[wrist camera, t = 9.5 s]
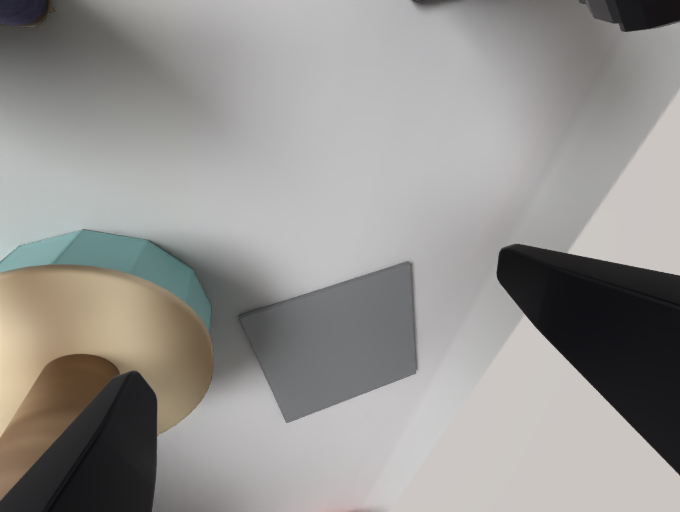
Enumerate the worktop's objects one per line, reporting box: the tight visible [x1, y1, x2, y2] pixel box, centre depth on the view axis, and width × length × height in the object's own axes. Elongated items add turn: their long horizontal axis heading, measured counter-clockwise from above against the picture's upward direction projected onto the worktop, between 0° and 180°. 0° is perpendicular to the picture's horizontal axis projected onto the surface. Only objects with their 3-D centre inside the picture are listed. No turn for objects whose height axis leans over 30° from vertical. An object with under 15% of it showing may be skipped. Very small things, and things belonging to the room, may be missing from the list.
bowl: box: [0, 229, 211, 333], centre depth 18 cm, size 11×11×4 cm
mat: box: [239, 262, 416, 423], centre depth 27 cm, size 13×13×1 cm
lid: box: [0, 264, 213, 500], centre depth 14 cm, size 12×12×7 cm
